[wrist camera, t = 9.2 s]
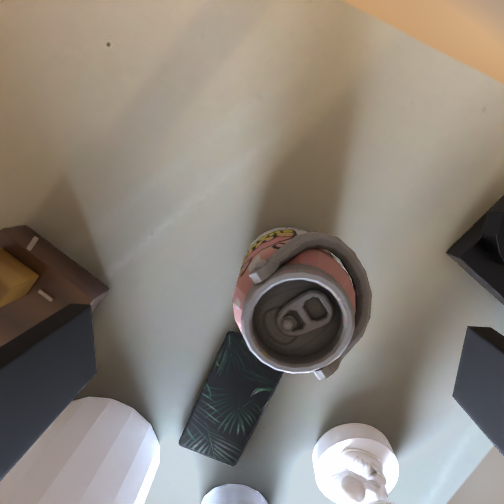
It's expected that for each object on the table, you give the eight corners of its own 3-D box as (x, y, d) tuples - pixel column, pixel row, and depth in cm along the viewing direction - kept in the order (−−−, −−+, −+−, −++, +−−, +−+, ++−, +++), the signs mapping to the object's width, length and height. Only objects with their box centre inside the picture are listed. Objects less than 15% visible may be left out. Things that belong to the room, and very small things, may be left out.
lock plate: (23, 204, 29) (-5, 207, 26) (119, 276, 31) (102, 287, 28) (-49, 319, 33) (-82, 333, 30) (40, 380, 34) (17, 400, 31)
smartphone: (176, 445, 34) (227, 331, 30) (179, 438, 35) (229, 326, 31) (235, 468, 34) (292, 358, 30) (236, 460, 35) (291, 352, 31)
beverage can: (310, 200, 28) (341, 214, 16) (355, 275, 29) (414, 338, 18) (225, 253, 30) (198, 300, 18) (272, 322, 31) (276, 409, 19)
